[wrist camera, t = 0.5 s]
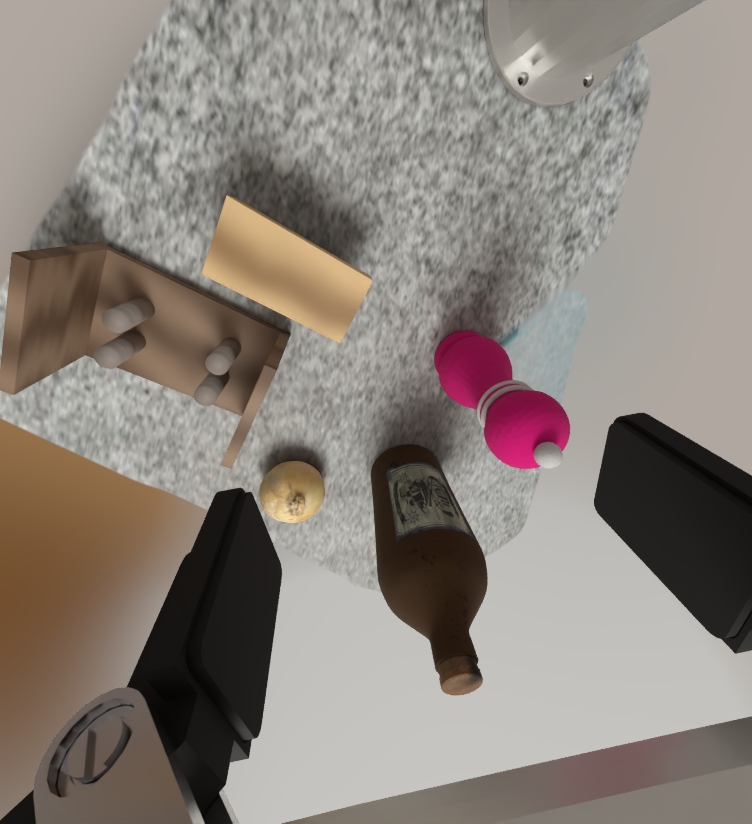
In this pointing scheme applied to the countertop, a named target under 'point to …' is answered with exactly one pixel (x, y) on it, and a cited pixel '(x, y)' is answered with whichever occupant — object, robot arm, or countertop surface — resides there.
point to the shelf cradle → (135, 330)
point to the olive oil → (429, 560)
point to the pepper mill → (502, 402)
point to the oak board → (284, 270)
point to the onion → (292, 491)
